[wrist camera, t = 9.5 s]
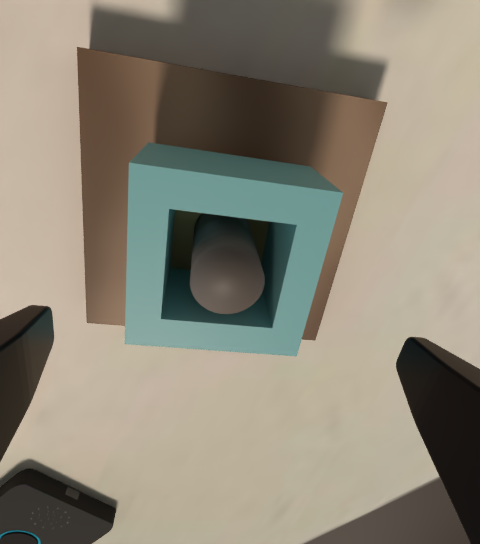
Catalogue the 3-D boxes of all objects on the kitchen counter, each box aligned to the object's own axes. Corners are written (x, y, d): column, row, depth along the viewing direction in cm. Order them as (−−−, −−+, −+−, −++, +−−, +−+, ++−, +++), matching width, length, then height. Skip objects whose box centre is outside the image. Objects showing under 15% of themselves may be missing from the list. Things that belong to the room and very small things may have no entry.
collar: (141, 288, 17) (124, 344, 13) (148, 142, 14) (129, 162, 10) (278, 301, 18) (296, 356, 14) (310, 166, 15) (343, 192, 11)
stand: (94, 306, 20) (44, 408, 14) (88, 50, 15) (1, 25, 8) (308, 324, 22) (350, 422, 15) (372, 100, 16) (475, 112, 10)
